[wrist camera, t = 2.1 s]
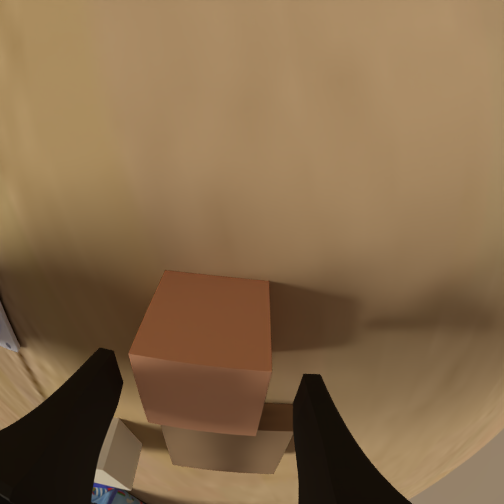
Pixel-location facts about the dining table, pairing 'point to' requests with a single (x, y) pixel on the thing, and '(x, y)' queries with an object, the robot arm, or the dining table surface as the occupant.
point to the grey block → (118, 457)
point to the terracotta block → (205, 353)
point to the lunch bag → (111, 495)
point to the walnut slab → (234, 444)
